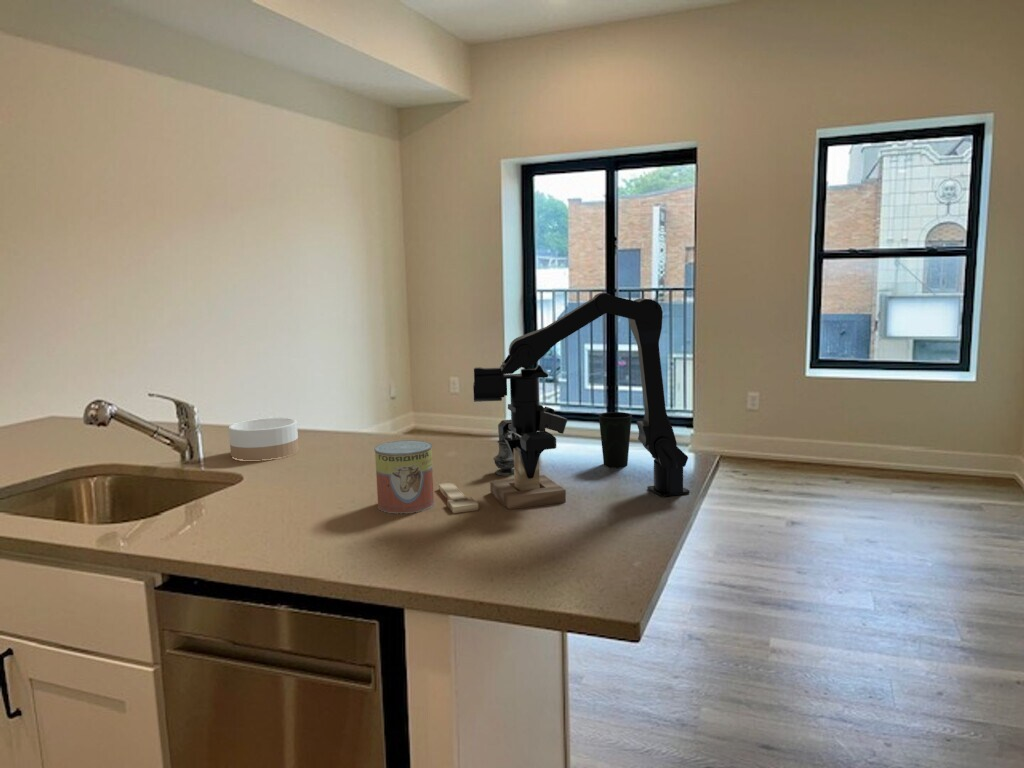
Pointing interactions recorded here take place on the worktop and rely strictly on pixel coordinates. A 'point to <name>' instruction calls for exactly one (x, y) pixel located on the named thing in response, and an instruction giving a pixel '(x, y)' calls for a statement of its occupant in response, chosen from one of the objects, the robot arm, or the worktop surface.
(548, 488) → the socket block
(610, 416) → the cup
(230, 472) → the worktop surface
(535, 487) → the wooden pin
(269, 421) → the bowl
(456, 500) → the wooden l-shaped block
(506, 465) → the salt shaker
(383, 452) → the canned food
